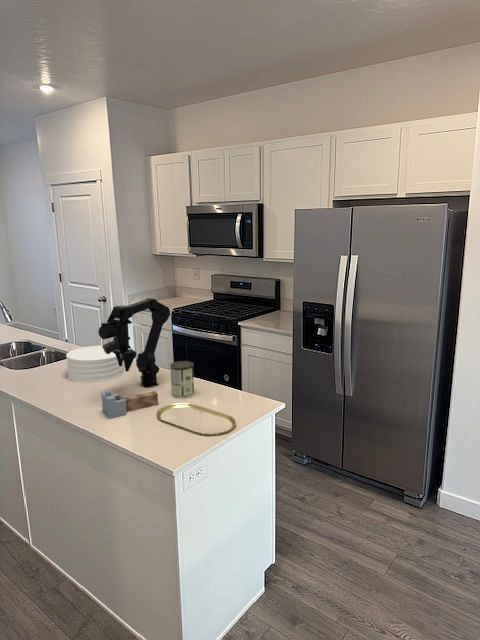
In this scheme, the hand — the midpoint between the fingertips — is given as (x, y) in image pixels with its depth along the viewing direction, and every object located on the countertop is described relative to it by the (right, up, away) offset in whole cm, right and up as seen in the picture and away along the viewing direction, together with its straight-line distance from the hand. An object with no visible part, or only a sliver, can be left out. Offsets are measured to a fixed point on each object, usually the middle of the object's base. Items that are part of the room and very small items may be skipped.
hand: (123, 368), depth 198 cm
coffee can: (+26, -12, +3) cm, 29 cm away
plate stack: (-22, -6, +32) cm, 39 cm away
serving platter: (+35, -18, -25) cm, 46 cm away
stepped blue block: (+1, -16, -18) cm, 24 cm away
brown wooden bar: (+10, -15, -12) cm, 22 cm away
